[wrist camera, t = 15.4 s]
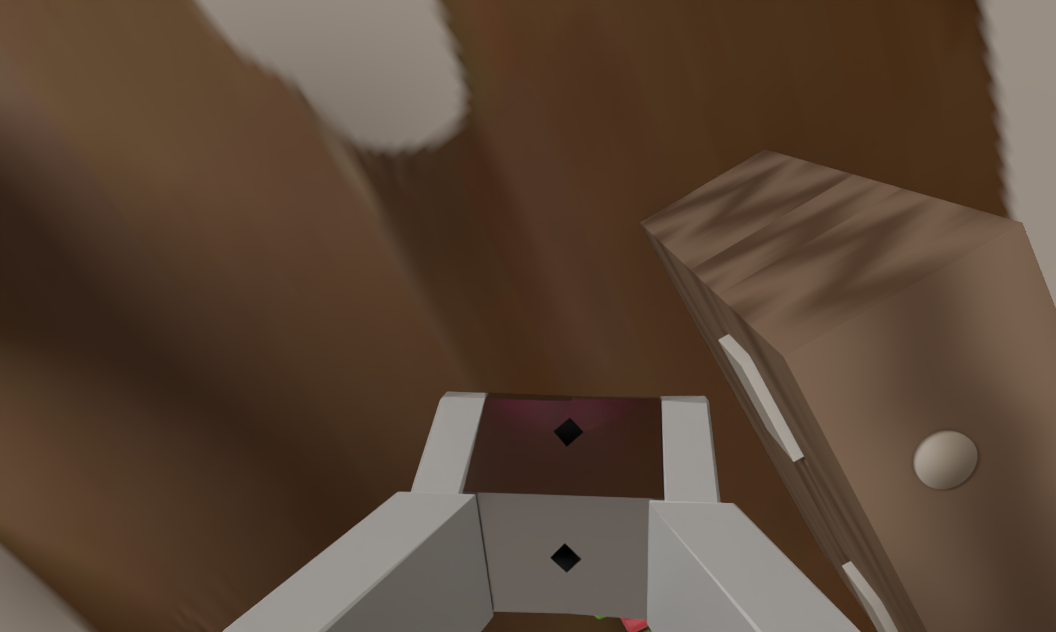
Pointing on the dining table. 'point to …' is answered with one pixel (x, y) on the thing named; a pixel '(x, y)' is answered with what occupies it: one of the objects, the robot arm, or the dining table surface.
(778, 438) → the grey block
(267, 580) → the dining table surface
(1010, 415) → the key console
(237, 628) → the robot arm
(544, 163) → the dining table surface
